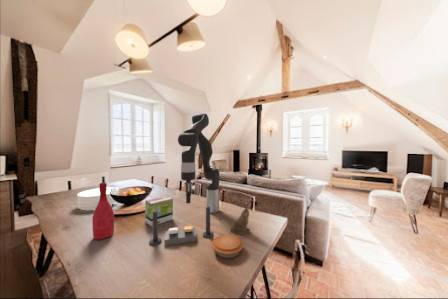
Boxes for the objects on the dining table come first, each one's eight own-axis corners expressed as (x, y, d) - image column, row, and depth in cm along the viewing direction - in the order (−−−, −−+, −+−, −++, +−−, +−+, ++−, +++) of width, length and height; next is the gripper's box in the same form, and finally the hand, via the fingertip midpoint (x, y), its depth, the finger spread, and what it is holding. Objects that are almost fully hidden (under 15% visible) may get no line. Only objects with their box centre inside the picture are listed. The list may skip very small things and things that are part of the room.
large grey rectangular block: (195, 232, 97) (194, 226, 97) (196, 241, 88) (196, 233, 88) (166, 236, 93) (166, 229, 93) (164, 245, 84) (164, 238, 84)
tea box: (151, 227, 103) (151, 203, 103) (144, 222, 110) (144, 200, 110) (173, 219, 114) (173, 198, 114) (166, 215, 121) (165, 195, 121)
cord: (162, 238, 91) (161, 209, 91) (160, 244, 85) (160, 213, 85) (150, 239, 89) (149, 210, 89) (148, 246, 84) (147, 215, 83)
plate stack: (92, 199, 155) (92, 187, 155) (124, 198, 158) (124, 187, 158) (68, 211, 127) (67, 197, 127) (107, 210, 131) (106, 195, 130)
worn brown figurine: (250, 235, 99) (256, 206, 97) (247, 240, 94) (254, 210, 92) (231, 227, 103) (237, 200, 102) (228, 231, 98) (235, 202, 96)
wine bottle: (90, 242, 87) (89, 185, 86) (95, 233, 96) (94, 182, 95) (113, 237, 91) (112, 183, 91) (115, 229, 100) (114, 180, 99)
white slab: (177, 229, 93) (177, 227, 93) (177, 233, 87) (177, 230, 87) (169, 230, 92) (169, 228, 92) (168, 234, 86) (168, 231, 86)
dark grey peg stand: (212, 231, 98) (212, 204, 98) (214, 237, 92) (214, 208, 92) (202, 233, 97) (202, 205, 96) (203, 238, 91) (203, 209, 90)
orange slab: (192, 227, 95) (191, 225, 95) (192, 231, 89) (192, 228, 89) (184, 228, 94) (184, 226, 94) (184, 232, 88) (184, 229, 88)
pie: (249, 257, 76) (249, 247, 75) (215, 264, 71) (215, 253, 71) (236, 239, 90) (236, 230, 90) (208, 244, 86) (208, 234, 86)
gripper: (196, 172, 83) (196, 206, 83) (194, 168, 96) (194, 198, 96) (181, 172, 81) (181, 207, 82) (181, 169, 94) (181, 199, 94)
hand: (188, 202), depth 89 cm, fingers closed
